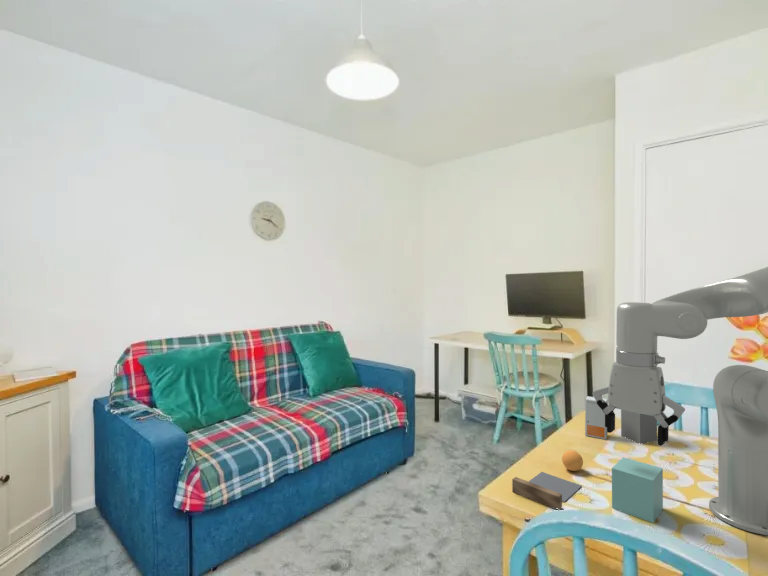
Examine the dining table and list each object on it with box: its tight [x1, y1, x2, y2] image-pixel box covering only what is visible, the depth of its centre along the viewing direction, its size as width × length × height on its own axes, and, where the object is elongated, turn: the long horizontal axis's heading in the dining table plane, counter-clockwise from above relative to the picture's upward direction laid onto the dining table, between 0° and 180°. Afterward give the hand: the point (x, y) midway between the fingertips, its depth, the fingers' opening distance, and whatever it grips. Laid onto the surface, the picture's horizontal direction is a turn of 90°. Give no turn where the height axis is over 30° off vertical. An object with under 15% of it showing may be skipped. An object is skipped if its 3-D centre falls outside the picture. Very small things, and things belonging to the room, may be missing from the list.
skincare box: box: [584, 395, 609, 441], centre depth 128 cm, size 6×4×12 cm
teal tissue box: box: [611, 456, 664, 524], centre depth 87 cm, size 8×8×9 cm
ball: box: [561, 449, 584, 472], centre depth 105 cm, size 5×5×5 cm
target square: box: [527, 471, 582, 503], centre depth 97 cm, size 10×10×1 cm
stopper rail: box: [511, 476, 563, 510], centre depth 91 cm, size 11×2×3 cm, turn 43°
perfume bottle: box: [620, 409, 658, 445], centre depth 125 cm, size 7×7×18 cm
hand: (635, 437), depth 87 cm, fingers open, 9 cm apart
